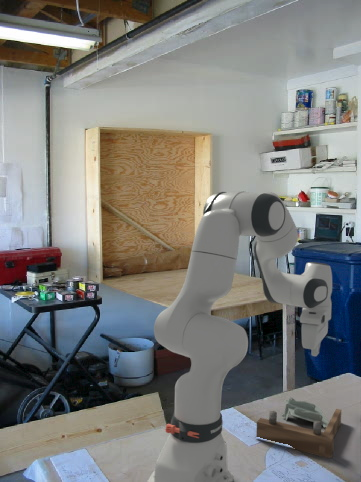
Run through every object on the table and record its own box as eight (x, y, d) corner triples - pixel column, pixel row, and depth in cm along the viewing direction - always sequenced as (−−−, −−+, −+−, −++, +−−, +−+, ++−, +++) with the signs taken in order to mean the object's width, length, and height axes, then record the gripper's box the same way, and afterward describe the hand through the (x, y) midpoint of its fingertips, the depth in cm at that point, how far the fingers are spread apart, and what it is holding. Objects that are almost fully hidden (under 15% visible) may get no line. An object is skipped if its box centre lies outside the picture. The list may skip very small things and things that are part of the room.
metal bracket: (292, 411, 143) (281, 390, 158) (286, 430, 143) (275, 407, 158) (340, 425, 143) (324, 403, 158) (333, 444, 144) (318, 420, 159)
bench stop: (330, 458, 128) (332, 428, 127) (256, 439, 138) (257, 411, 137) (346, 423, 148) (347, 397, 147) (279, 409, 157) (280, 384, 156)
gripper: (314, 304, 169) (312, 344, 171) (298, 318, 151) (297, 362, 153) (333, 306, 166) (331, 347, 168) (319, 321, 148) (317, 366, 150)
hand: (315, 354), depth 160 cm, fingers closed
